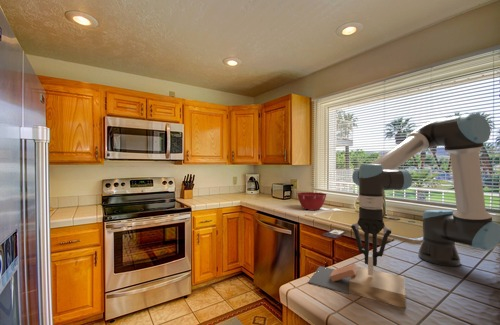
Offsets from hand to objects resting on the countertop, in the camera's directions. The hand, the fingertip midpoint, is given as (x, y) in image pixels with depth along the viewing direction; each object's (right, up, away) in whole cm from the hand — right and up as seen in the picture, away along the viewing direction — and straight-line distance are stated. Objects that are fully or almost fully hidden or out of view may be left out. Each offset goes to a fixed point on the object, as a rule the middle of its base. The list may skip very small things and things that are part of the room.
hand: (370, 273), depth 83 cm
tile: (-7, -3, +4) cm, 9 cm away
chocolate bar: (+10, -7, +65) cm, 66 cm away
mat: (-11, -5, +7) cm, 14 cm away
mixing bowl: (+18, -7, +149) cm, 150 cm away
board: (+2, -5, -1) cm, 5 cm away
